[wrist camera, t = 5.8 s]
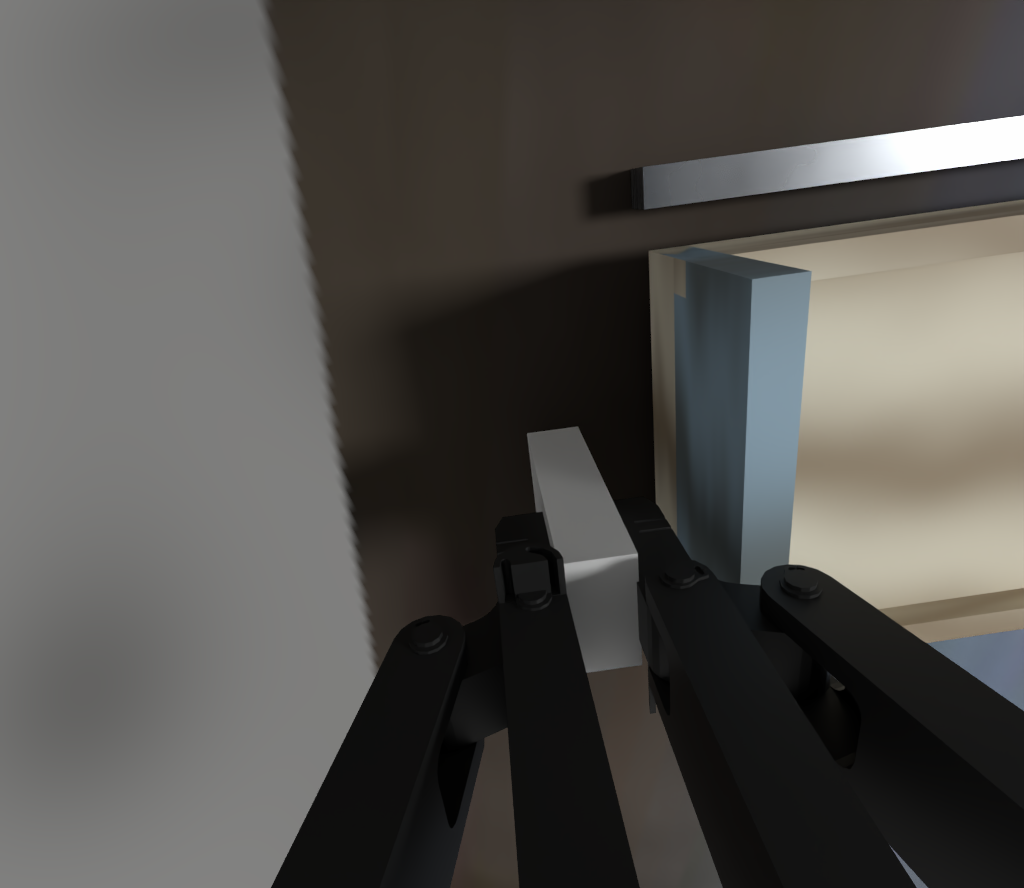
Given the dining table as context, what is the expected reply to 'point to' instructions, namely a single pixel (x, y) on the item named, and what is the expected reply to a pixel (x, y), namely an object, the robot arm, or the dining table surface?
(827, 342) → the wooden tray
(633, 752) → the dining table surface
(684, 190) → the track
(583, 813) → the robot arm
